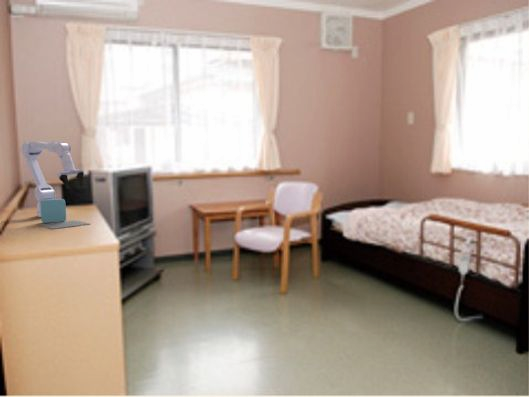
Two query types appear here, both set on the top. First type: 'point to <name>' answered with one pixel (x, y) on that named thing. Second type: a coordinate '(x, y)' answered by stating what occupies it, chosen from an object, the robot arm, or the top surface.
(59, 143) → the robot arm
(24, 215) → the top surface
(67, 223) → the mat
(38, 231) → the top surface
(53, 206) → the blue square block
